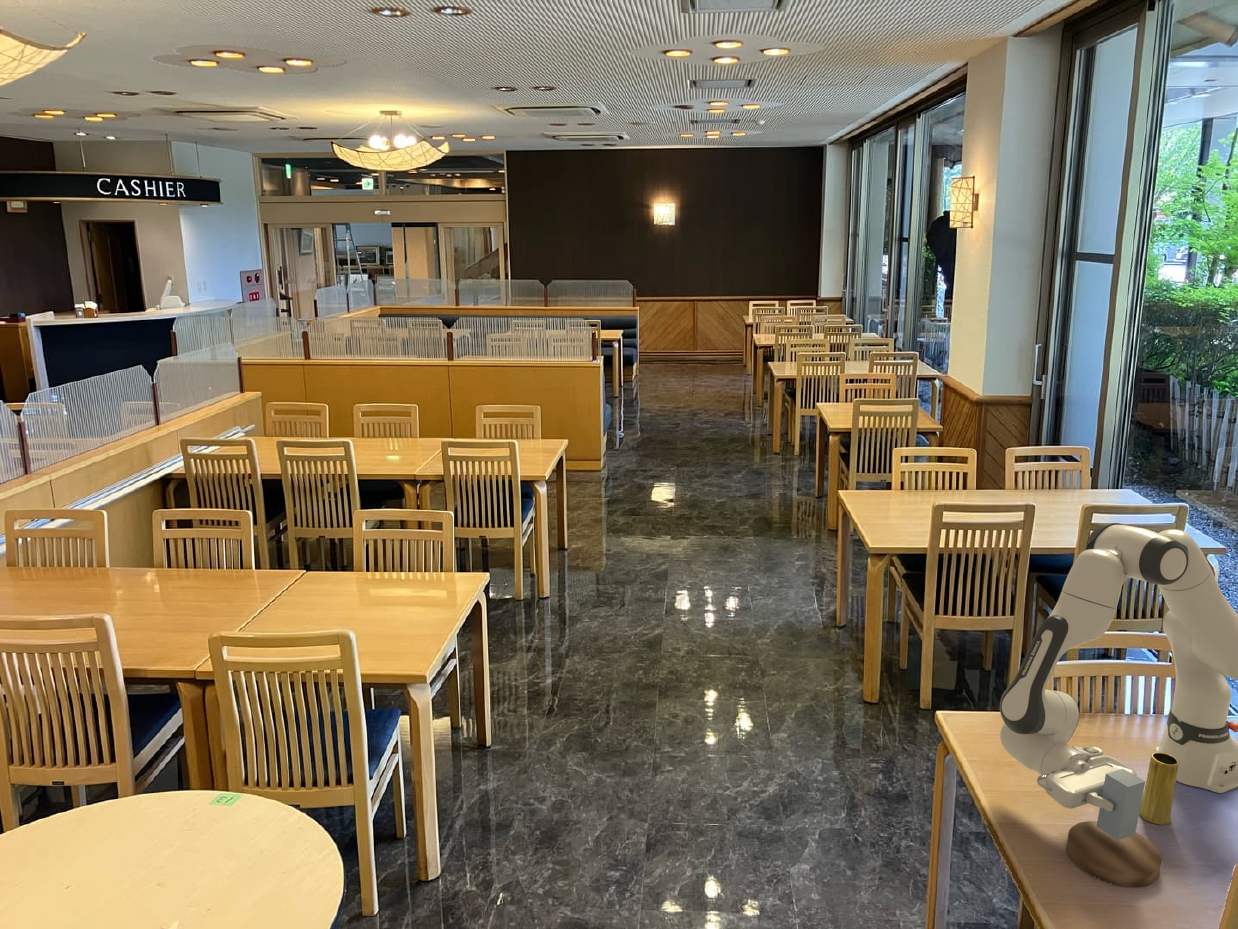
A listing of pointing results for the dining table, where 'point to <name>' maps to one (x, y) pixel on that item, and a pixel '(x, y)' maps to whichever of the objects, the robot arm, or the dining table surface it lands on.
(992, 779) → the dining table surface
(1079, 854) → the walnut base
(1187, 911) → the dining table surface
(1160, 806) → the vase
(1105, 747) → the dining table surface
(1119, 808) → the gray block
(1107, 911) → the dining table surface
